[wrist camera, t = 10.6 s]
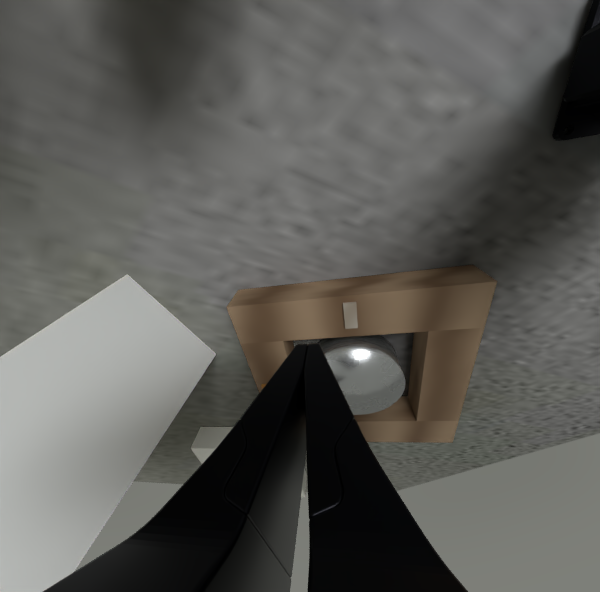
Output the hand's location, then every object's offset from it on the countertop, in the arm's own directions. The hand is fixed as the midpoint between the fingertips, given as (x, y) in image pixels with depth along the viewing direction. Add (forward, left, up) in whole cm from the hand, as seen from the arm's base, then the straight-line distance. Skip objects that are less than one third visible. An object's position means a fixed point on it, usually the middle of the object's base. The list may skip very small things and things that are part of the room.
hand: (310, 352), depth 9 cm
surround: (-2, +13, -12) cm, 18 cm away
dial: (0, +13, -12) cm, 18 cm away
